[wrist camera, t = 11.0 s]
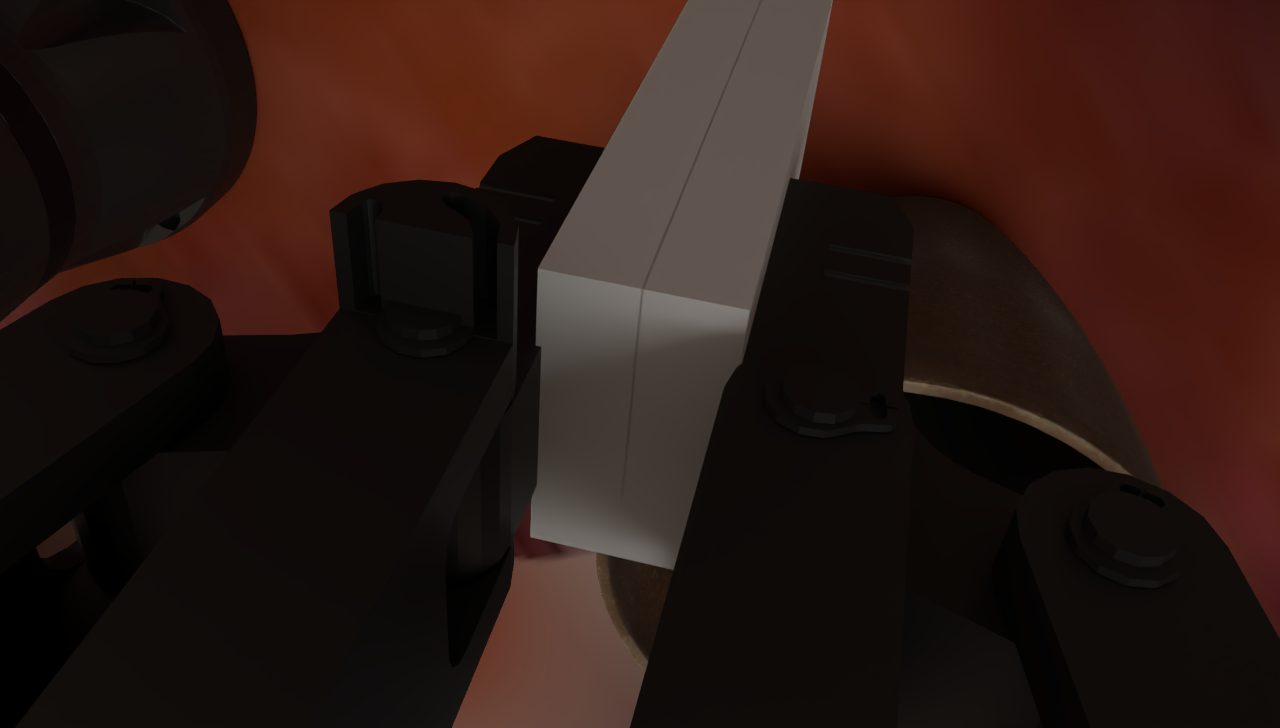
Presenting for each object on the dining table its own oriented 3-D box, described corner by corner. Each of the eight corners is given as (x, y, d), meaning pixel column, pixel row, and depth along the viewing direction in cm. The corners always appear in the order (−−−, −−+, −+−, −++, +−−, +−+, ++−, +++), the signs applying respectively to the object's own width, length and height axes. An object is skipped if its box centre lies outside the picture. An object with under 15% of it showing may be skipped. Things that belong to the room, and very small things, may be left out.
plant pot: (656, 352, 45) (536, 666, 33) (796, 18, 36) (701, 284, 24) (996, 490, 45) (1003, 854, 33) (1225, 193, 36) (1353, 548, 24)
